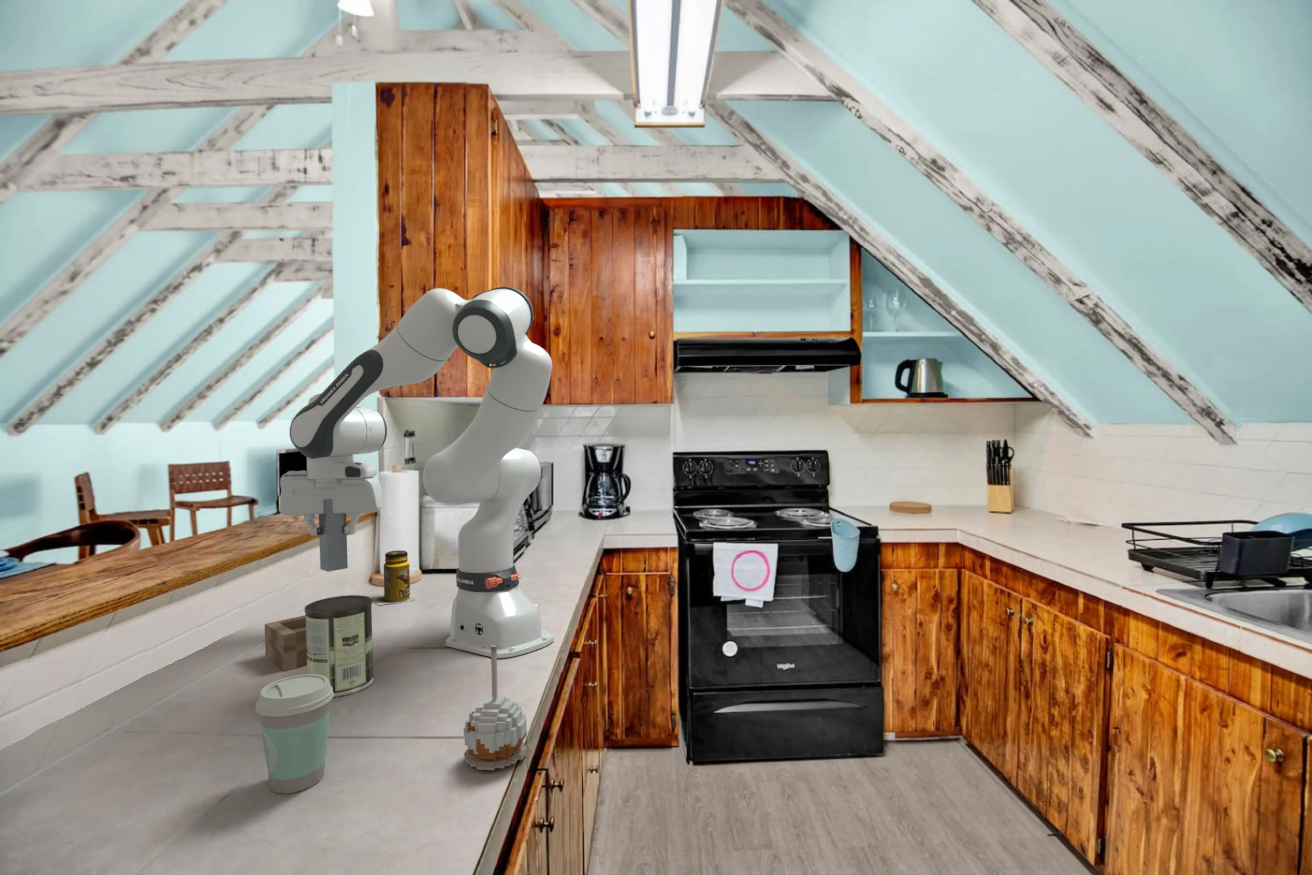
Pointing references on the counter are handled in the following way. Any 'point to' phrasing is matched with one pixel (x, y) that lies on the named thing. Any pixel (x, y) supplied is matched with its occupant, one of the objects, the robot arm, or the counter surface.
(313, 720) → the coffee cup
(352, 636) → the coffee can
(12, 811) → the counter surface
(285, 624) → the walnut holder
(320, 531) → the steel bar
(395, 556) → the condiment
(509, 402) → the robot arm
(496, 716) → the voxel caramel apple
